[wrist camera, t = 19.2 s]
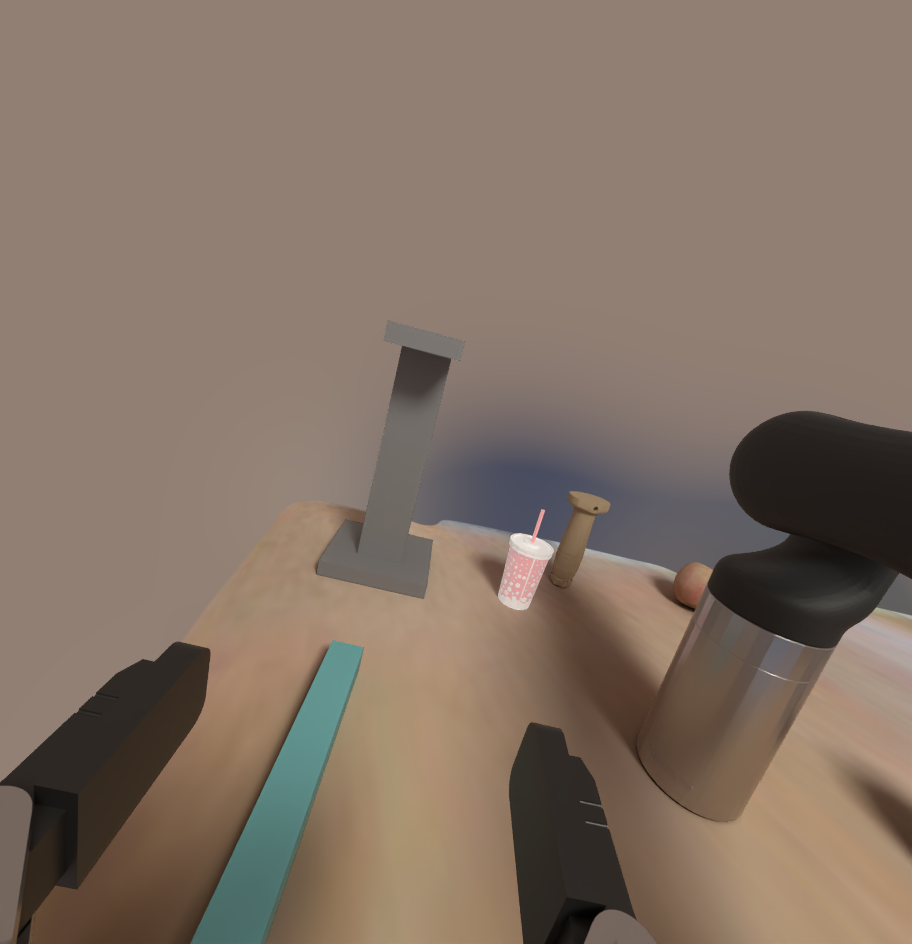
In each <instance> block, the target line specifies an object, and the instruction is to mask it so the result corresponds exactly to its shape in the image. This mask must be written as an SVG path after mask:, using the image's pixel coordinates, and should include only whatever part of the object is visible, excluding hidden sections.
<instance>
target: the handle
mask: <svg viewBox="0 0 912 944" xmlns="http://www.w3.org/2000/svg"><path fill="white" fill-rule="evenodd" d="M568 501H569V503H570V504H571V505H572V506H573V507H574V510H573V514H572V516H571V519H570V521H569V524H568V526H567V529H566V531H565V533H564V536H563V538H562V540H561V543H560V545H559V547H558V551H557V553H556V556H555V560H554V564H553V572H551V577H550V580H551V581H552V582H553V584H555V585H558V586H560V587H562V588H565V587H567V586H570V584H571V582H572V578H573V577H574V576H575V574H576V572H577V570H578V568H579V565H580V563H581V560H582V558H583V555H584V551H585V548H586V544H587V541H588V537H589V534H590V531H591V527H592V525H593V521H594V519H595V517H596V515H598V514H601V513H605V512H608V510H609V507H610V503H609V502H608V501H606V500H604V499H602V498H600V497H597V496H594V495H590V494H587V493H581V492H574V491H573V492H571V491H570V492H569V495H568Z"/></svg>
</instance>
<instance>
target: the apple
mask: <svg viewBox="0 0 912 944" xmlns="http://www.w3.org/2000/svg"><path fill="white" fill-rule="evenodd" d="M712 572H713V570H712V569H710V568H708V567H706V566H705V565H702V564H700V563H689V564H687V565H685V566H684V567H683V568H681V569H680V570H679V572H678V573H677V575H676V577H675V580H674V593H675V596H676V598H677V599H678V600H679V601H680V602H681V603H683V604H685V605H686V606H689V607H691V608H694V609H696V607H697V605H698V602H699V600H700V598H701V596H702V594H703V591H704V589H705V587H706V585H707V583H708V581H709V578H710V576H711V574H712Z"/></svg>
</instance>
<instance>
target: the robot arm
mask: <svg viewBox="0 0 912 944" xmlns="http://www.w3.org/2000/svg"><path fill="white" fill-rule="evenodd" d="M729 475H730V484H731V488H732V491H733V494H734V496H735V498H736V500H737V502H738V504H739V505H740V506H741V507H742V509H743V510H744V511H745V512H746V513H747V514H748V515H749V516H750V517H751V518H753V519H754V520H755V521H757V522H759V523H761V524H762V525H765V526H767V527H769V528H772V529H775V530H779V531H782V532H786V533H789V534H790V535H789V537H788V538H787V539H786V540H785V541H784V542H782V543H781V544H779V545H777V546H775V547H772V548H769V549H765V550H762V551H757V552H751V553H742V554H733V555H728V556H725V557H723V558H722V559H721V560H719V562H718V563H717V564H716V566H715V568H714V570H713V572H712V574H711V576H710V578H709V581H708V583H707V585H706V587H705V589H704V591H703V594H702V596H701V598H700V600H699V602H698V605H697V607H696V609H695V611H694V614H693V616H692V618H691V620H690V623H689V625H688V627H687V629H686V631H685V634H684V636H683V638H682V640H681V642H680V645H679V647H678V649H677V651H676V653H675V656H674V658H673V660H672V662H671V664H670V667H669V669H668V671H667V673H666V675H665V678H664V680H663V682H662V684H661V686H660V688H659V691H658V693H657V695H656V697H655V699H654V702H653V704H652V706H651V708H650V710H649V712H648V715H647V717H646V719H645V721H644V724H643V726H642V728H641V730H640V733H639V735H638V737H637V745H636V746H637V751H638V755H639V757H640V759H641V761H642V764H643V765H644V767H645V769H646V770H647V772H648V773H649V775H650V776H651V777H652V778H653V779H654V781H655V782H656V783H657V784H658V785H659V786H660V787H661V788H662V789H663V790H664V791H665V792H666V793H667V794H668V795H669V796H670V797H672V798H673V799H674V800H675V801H677V802H678V803H679V804H681V805H682V806H684V807H686V808H687V809H689V810H690V811H692V812H694V813H696V814H698V815H700V816H702V817H705V818H708V819H711V820H715V821H722V822H728V821H733V820H735V819H737V818H738V817H739V816H740V815H741V814H742V812H743V810H744V808H745V807H746V805H747V803H748V801H749V799H750V798H751V796H752V794H753V792H754V791H755V789H756V787H757V785H758V784H759V782H760V780H761V779H762V777H763V775H764V774H765V772H766V770H767V768H768V767H769V765H770V763H771V761H772V760H773V758H774V756H775V754H776V752H777V751H778V749H779V747H780V745H781V744H782V742H783V740H784V738H785V737H786V735H787V733H788V731H789V729H790V728H791V726H792V724H793V722H794V721H795V719H796V717H797V715H798V714H799V712H800V710H801V708H802V707H803V705H804V703H805V701H806V699H807V698H808V696H809V694H810V692H811V691H812V689H813V687H814V685H815V684H816V682H817V680H818V678H819V676H820V674H821V672H822V671H823V669H824V667H825V665H826V664H827V662H828V660H829V658H830V656H831V655H832V653H833V651H834V649H835V648H836V645H837V644H838V642H839V641H840V639H841V637H842V636H843V634H844V633H845V632H846V631H847V630H848V629H849V628H851V627H852V626H854V625H856V624H857V623H859V622H861V621H862V620H864V619H865V618H866V617H867V616H868V615H869V614H871V613H872V611H873V610H874V609H875V608H876V607H877V605H878V604H879V602H880V601H881V599H882V598H883V596H884V595H885V593H886V592H887V590H888V589H889V587H890V586H891V585H892V583H893V582H894V580H895V579H896V577H897V576H898V574H899V573H901V574H903V575H905V576H907V577H909V578H911V579H912V432H909V431H902V430H895V429H889V428H884V427H879V426H874V425H868V424H863V423H859V422H855V421H852V420H848V419H844V418H841V417H837V416H834V415H830V414H825V413H820V412H814V411H797V412H790V413H785V414H782V415H779V416H776V417H773V418H771V419H769V420H767V421H765V422H763V423H762V424H760V425H759V426H757V427H756V428H754V429H753V430H752V431H751V432H749V433H748V434H747V436H745V437H744V438H743V440H742V441H741V442H740V444H739V445H738V446H737V448H736V450H735V452H734V454H733V456H732V460H731V464H730V474H729ZM209 663H210V649H208V648H204V647H200V646H196V645H191V644H187V643H182V642H175V643H173V644H172V645H171V646H170V647H169V648H168V649H167V650H166V651H165V652H164V653H163V654H162V655H161V656H160V657H159V658H158V659H157V660H156V661H155V662H153V661H148V660H144V659H142V660H141V661H139V662H137V663H135V664H133V665H131V666H130V667H128V668H126V669H124V670H122V671H120V672H118V673H117V674H116V675H115V676H114V677H112V678H111V679H110V680H109V681H108V682H107V683H106V684H105V685H104V686H103V687H102V688H101V689H100V690H99V691H98V692H96V695H95V696H94V697H93V696H92V697H91V698H90V699H89V700H88V701H87V702H86V703H85V704H84V705H83V706H82V707H81V708H79V711H78V712H77V713H74V714H73V715H72V716H71V717H70V718H69V719H68V720H67V721H66V722H64V723H63V724H62V725H61V726H60V727H59V728H58V729H57V730H56V731H55V732H54V733H53V734H52V735H51V736H50V737H48V738H47V739H46V740H45V741H44V742H43V743H42V744H41V745H40V746H39V747H38V748H37V749H36V750H35V751H34V752H33V753H31V754H30V755H29V756H28V757H27V758H26V759H25V760H24V761H23V762H22V763H21V764H20V765H19V766H18V767H17V768H16V769H15V770H13V771H12V772H11V773H10V774H9V775H8V776H7V777H6V778H5V779H4V780H2V781H1V782H0V944H32V936H33V928H34V920H35V911H36V910H37V909H38V908H39V906H40V905H41V904H42V902H43V901H44V900H45V898H46V897H47V896H48V894H49V893H50V892H51V890H52V889H53V888H54V886H55V885H57V886H62V887H67V888H72V889H78V887H79V886H80V885H81V883H82V882H83V880H84V879H85V878H86V876H87V875H88V873H89V872H90V871H91V869H92V868H93V866H94V865H95V864H96V862H97V861H98V859H99V858H100V857H101V855H102V854H103V852H104V851H105V850H106V848H107V847H108V845H109V844H110V843H111V841H112V840H113V838H114V837H115V836H116V834H117V833H118V831H119V830H120V829H121V827H122V826H123V824H124V823H125V822H126V820H127V819H128V817H129V816H130V815H131V813H132V812H133V810H134V809H135V808H136V806H137V805H138V803H139V802H140V801H141V799H142V798H143V796H144V795H145V794H146V792H147V791H148V789H149V788H150V787H151V785H152V784H153V782H154V781H155V780H156V778H157V777H158V775H159V774H160V773H161V771H162V770H163V768H164V767H165V766H166V764H167V763H168V761H169V760H170V759H171V757H172V756H173V754H174V753H175V752H176V750H177V749H178V747H179V746H180V745H181V743H182V742H183V740H184V739H185V738H186V736H187V735H188V733H189V732H190V731H191V729H192V728H193V726H194V725H195V723H196V721H197V719H198V717H199V715H200V713H201V711H202V708H203V705H204V702H205V697H206V689H207V680H208V672H209ZM509 799H510V809H511V820H512V830H513V840H514V851H515V861H516V871H517V882H518V892H519V903H520V913H521V923H522V934H523V944H657V943H656V941H655V940H654V938H653V937H652V936H651V934H650V933H649V932H648V931H647V930H646V929H645V928H644V927H643V926H642V924H640V923H639V922H638V921H637V920H636V917H635V914H634V912H633V909H632V905H631V902H630V899H629V895H628V892H627V888H626V885H625V882H624V878H623V875H622V872H621V868H620V865H619V861H618V858H617V855H616V851H615V848H614V845H613V841H612V838H611V834H610V831H609V829H607V821H606V818H605V814H604V811H603V809H602V808H601V801H600V797H599V794H598V790H597V787H596V784H595V780H594V779H593V777H592V775H591V774H590V772H589V771H588V769H587V768H586V766H585V764H584V763H583V761H582V760H581V758H579V757H575V756H570V755H569V754H568V750H567V746H566V742H565V738H564V734H563V732H562V730H561V729H559V728H555V727H550V726H546V725H541V724H537V723H532V722H531V723H530V724H529V725H528V727H527V730H526V732H525V735H524V738H523V740H522V743H521V746H520V748H519V751H518V753H517V756H516V759H515V761H514V764H513V767H512V770H511V776H510V784H509Z"/></svg>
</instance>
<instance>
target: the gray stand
mask: <svg viewBox="0 0 912 944" xmlns="http://www.w3.org/2000/svg"><path fill="white" fill-rule="evenodd" d="M384 341H387V342H391V343H394V344H398V345H402V349H401V354H400V358H399V364H398V367H397V372H396V377H395V381H394V386H393V390H392V395H391V400H390V404H389V409H388V413H387V418H386V423H385V427H384V432H383V437H382V441H381V446H380V451H379V455H378V460H377V465H376V469H375V473H374V479H373V483H372V487H371V492H370V497H369V501H368V506H367V510H366V515H365V520H364V524H363V523H359V522H355V521H350V520H345V521H344V523H343V525H342V526H341V528H340V529H339V531H338V532H337V534H336V535H335V537H334V538H333V540H332V541H331V543H330V544H329V546H328V547H327V549H326V550H325V552H324V553H323V555H322V556H321V558H320V560H319V563H318V568H317V573H316V574H317V575H322V576H326V577H330V578H335V579H339V580H344V581H348V582H352V583H357V584H361V585H366V586H370V587H374V588H379V589H383V590H388V591H392V592H396V593H401V594H405V595H409V596H414V597H418V598H423V599H424V596H425V592H426V588H427V583H428V575H429V567H430V559H431V550H432V542H433V540H431V539H426V538H422V537H418V536H414V535H410V534H408V532H409V528H410V524H411V520H412V516H413V512H414V508H415V503H416V500H417V496H418V492H419V488H420V484H421V480H422V476H423V472H424V467H425V463H426V459H427V455H428V451H429V447H430V443H431V439H432V435H433V431H434V427H435V423H436V419H437V415H438V411H439V407H440V403H441V399H442V395H443V390H444V387H445V382H446V378H447V374H448V370H449V366H450V362H451V359H454V360H458V361H460V359H461V356H462V352H463V348H464V344H465V341H462V340H459V339H455V338H451V337H447V336H443V335H440V334H436V333H433V332H429V331H425V330H421V329H418V328H414V327H410V326H406V325H403V324H399V323H395V322H392V321H387V326H386V331H385V336H384Z"/></svg>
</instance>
